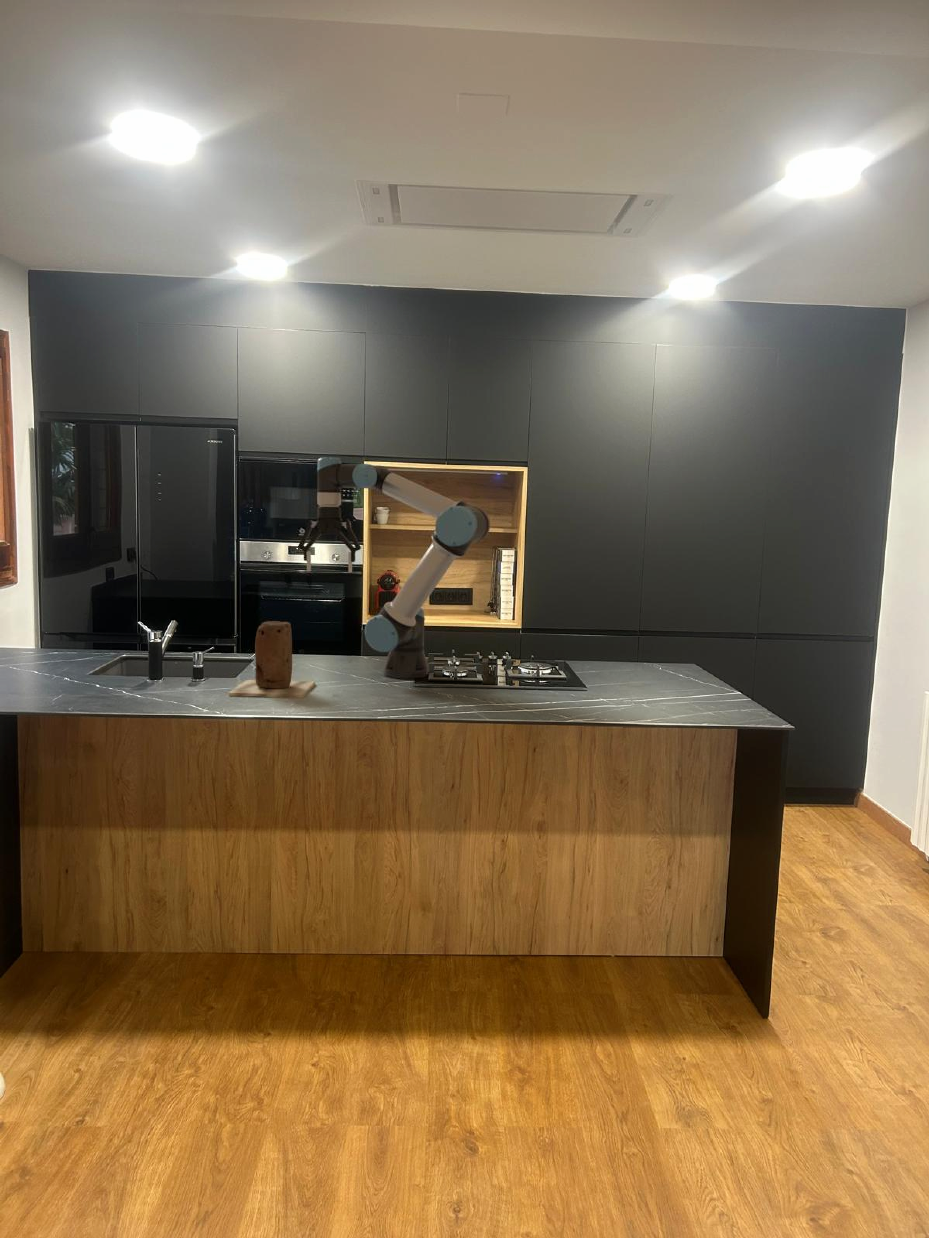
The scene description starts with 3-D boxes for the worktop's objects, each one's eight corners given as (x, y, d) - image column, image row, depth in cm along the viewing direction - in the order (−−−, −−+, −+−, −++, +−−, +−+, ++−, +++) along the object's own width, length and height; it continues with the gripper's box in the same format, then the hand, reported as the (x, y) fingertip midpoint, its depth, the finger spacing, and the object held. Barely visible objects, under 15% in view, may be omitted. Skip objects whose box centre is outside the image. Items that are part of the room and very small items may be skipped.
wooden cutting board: (315, 684, 266) (315, 681, 266) (302, 697, 248) (302, 694, 248) (246, 682, 267) (246, 679, 267) (228, 696, 249) (228, 692, 249)
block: (294, 684, 261) (293, 620, 258) (287, 690, 254) (287, 624, 251) (259, 683, 261) (258, 620, 259) (252, 689, 254) (251, 623, 251)
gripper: (369, 506, 275) (369, 571, 278) (293, 505, 276) (294, 569, 279) (365, 506, 268) (365, 573, 271) (288, 505, 269) (288, 571, 272)
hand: (329, 571), depth 275 cm, fingers open, 13 cm apart
